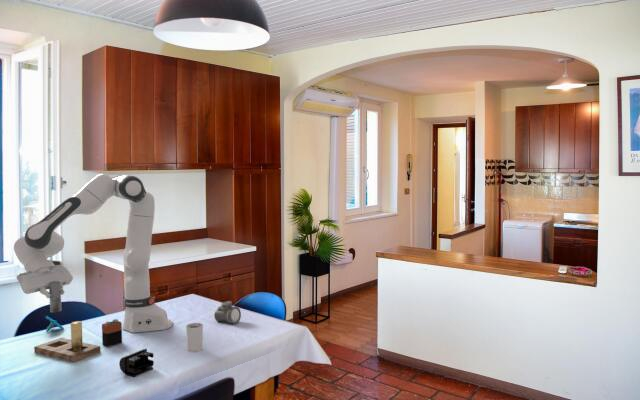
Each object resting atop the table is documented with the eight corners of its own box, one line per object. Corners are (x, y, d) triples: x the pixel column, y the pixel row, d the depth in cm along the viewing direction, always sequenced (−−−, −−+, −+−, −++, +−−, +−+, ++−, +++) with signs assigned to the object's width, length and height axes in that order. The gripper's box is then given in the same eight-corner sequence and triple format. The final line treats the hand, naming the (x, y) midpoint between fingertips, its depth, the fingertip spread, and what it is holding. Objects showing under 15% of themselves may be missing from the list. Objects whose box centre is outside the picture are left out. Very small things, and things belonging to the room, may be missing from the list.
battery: (122, 342, 211) (121, 319, 211) (107, 347, 206) (106, 323, 205) (117, 340, 214) (116, 318, 213) (102, 345, 209) (101, 321, 208)
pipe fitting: (243, 320, 240) (239, 300, 240) (232, 326, 233) (228, 305, 233) (224, 319, 246) (220, 299, 246) (213, 325, 239) (209, 305, 239)
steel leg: (63, 309, 204) (61, 280, 203) (59, 312, 200) (57, 283, 199) (52, 310, 203) (51, 281, 203) (48, 312, 199) (47, 283, 199)
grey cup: (188, 353, 198) (188, 328, 198) (185, 348, 204) (184, 324, 204) (205, 350, 202) (204, 326, 201) (201, 345, 207) (200, 321, 207)
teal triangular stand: (66, 328, 226) (48, 315, 223) (56, 339, 224) (38, 326, 220) (64, 325, 236) (46, 313, 232) (54, 336, 233) (36, 323, 230)
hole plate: (34, 352, 200) (34, 346, 200) (61, 343, 211) (61, 337, 211) (74, 362, 190) (73, 356, 190) (100, 352, 200) (100, 346, 200)
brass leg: (84, 352, 200) (83, 321, 199) (80, 356, 196) (79, 324, 195) (74, 353, 199) (72, 321, 199) (70, 356, 196) (69, 324, 195)
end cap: (141, 364, 187) (141, 347, 187) (154, 368, 184) (154, 350, 183) (119, 374, 179) (118, 355, 178) (132, 378, 175) (132, 359, 175)
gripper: (17, 269, 194) (34, 296, 190) (65, 260, 212) (81, 285, 209) (11, 279, 196) (28, 306, 193) (58, 270, 215) (74, 294, 211)
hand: (56, 295), depth 201 cm, fingers closed on steel leg, 4 cm apart
